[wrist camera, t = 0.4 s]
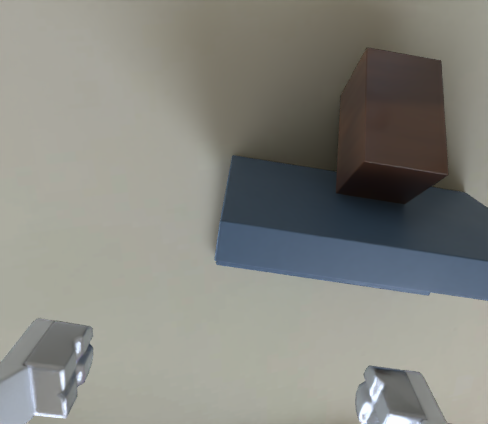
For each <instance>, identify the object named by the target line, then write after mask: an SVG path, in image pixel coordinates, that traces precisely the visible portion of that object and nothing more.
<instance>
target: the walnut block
mask: <svg viewBox="0 0 488 424" xmlns="http://www.w3.org/2000/svg"><path fill="white" fill-rule="evenodd" d="M448 174H449V173H448V157H447V142H446V126H445V111H444V95H443V79H442V64H441V60H436V59H430V58H424V57H419V56H413V55H407V54H402V53H396V52H390V51H385V50H379V49H373V48H366V50H365V52H364V53H363V55H362V57H361V59H360V61H359V63H358V64H357V66H356V68H355V70H354V72H353V74H352V75H351V77H350V79H349V81H348V83H347V85H346V86H345V88H344V90H343V92H342V94H341V96H340V117H339V137H338V158H337V178H336V193H337V194H342V195H349V196H355V197H361V198H368V199H374V200H380V201H387V202H393V203H400V204H406V203H408V202H409V201H411V200H412V199H414V198H415V197H417V196H418V195H419V194H421V193H422V192H424V191H425V190H427V189H428V188H430V187H431V186H433V185H434V184H436V183H437V182H439V181H440V180H442V179H443V178H444V177H446V176H447V175H448Z"/></svg>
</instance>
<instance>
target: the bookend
mask: <svg viewBox="0 0 488 424" xmlns="http://www.w3.org/2000/svg"><path fill="white" fill-rule="evenodd" d="M336 178H337V172H335V171H328V170H322V169H316V168H310V167H303V166H297V165H291V164H285V163H278V162H272V161H266V160H260V159H253V158H247V157H241V156H234V155H233V156H232V160H231V165H230V170H229V176H228V181H227V186H226V192H225V197H224V202H223V208H222V213H221V218H220V225H219V231H218V238H217V245H216V252H215V261H216V264H217V265H223V266H230V267H236V268H243V269H250V270H257V271H264V272H271V273H277V274H284V275H291V276H298V277H305V278H312V279H319V280H325V281H332V282H339V283H346V284H353V285H360V286H367V287H373V288H380V289H387V290H394V291H401V292H408V293H414V294H421V295H429V294H430V292H432V293H439V294H446V295H452V296H459V297H466V298H473V299H480V300H487V301H488V208H487V207H486V206H484V205H483V204H481V203H480V202H478V201H477V200H476V199H474V198H473V197H471V196H470V195H468V194H467V193H465V192H460V191H454V190H447V189H441V188H435V187H430V188H428V189H427V190H425V191H424V192H422V193H421V194H419V195H418V196H417V197H415V198H414V199H412V200H411V201H409V202H408V203H406V204H400V203H393V202H387V201H380V200H374V199H368V198H361V197H355V196H349V195H342V194H337V193H336Z"/></svg>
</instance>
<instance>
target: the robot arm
mask: <svg viewBox="0 0 488 424" xmlns="http://www.w3.org/2000/svg"><path fill="white" fill-rule="evenodd" d="M92 337H93V328H92V327H91V326H86V325H80V324H74V323H68V322H62V321H54V320H48V319H42V318H38V319H36V320H35V321H33V322H32V323H31V325H30V326H29V327H28V328H27V330H26V331H25V332H24V334H23V335H22V336H21V337H20V339H19V340H18V341H17V342H16V344H15V345H14V346H13V347H12V349H11V350H10V351H9V352H8V354H7V355H6V356H5V357H4V359H3V360H2V361H1V362H0V424H25V423H27V422H28V421H29V420H30V419H32V418H33V417H34V415H40V416H50V417H60V418H67V416H68V414H69V412H70V410H71V408H72V406H73V404H74V402H75V400H76V398H77V387H78V386H79V385H81V384H82V383H84V382H85V380H86V378H87V376H88V374H89V371H90V368H91V364H92V360H93V347H92V346H91V345H90V341H91V339H92ZM363 375H364V378H365V381H364V382H363V383H361V384H360V385H359V386H358V389H357V392H356V399H355V405H356V412H357V416H358V419H359V420H360V422H361V423H362V424H450V423H447V422H446V420H445V418H444V416H443V414H442V412H441V410H440V408H439V406H438V404H437V402H436V400H435V398H434V396H433V394H432V392H431V390H430V388H429V386H428V384H427V382H426V380H425V379H424V377H423V375H422V374H421V373H420V372H415V371H408V370H400V369H392V368H385V367H377V366H368V367H367V368H366V370H365V372H364V374H363Z"/></svg>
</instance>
